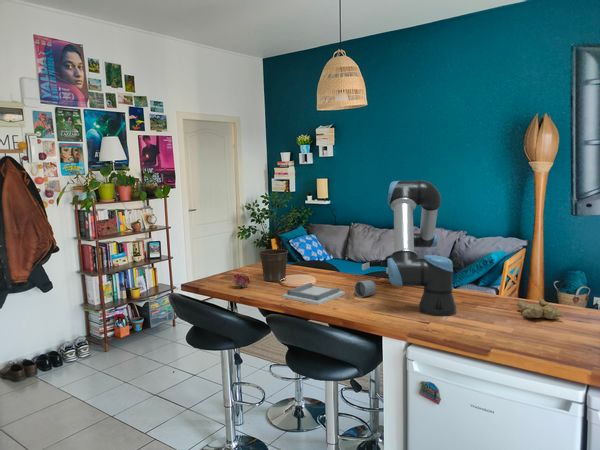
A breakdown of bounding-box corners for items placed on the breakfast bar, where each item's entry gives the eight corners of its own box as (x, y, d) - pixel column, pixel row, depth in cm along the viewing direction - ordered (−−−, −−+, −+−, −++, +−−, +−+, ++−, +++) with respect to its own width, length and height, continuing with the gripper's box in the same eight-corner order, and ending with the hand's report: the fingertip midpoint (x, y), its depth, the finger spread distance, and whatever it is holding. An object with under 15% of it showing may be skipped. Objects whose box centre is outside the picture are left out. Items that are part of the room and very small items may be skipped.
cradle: (345, 294, 219) (345, 287, 219) (318, 305, 202) (318, 298, 202) (309, 287, 233) (309, 281, 233) (281, 297, 216) (281, 290, 215)
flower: (245, 287, 228) (250, 273, 232) (228, 284, 229) (233, 269, 233) (248, 294, 237) (252, 280, 240) (231, 290, 238) (236, 276, 241)
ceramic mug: (377, 295, 215) (377, 280, 214) (365, 298, 210) (365, 282, 210) (361, 291, 224) (361, 276, 223) (349, 294, 219) (349, 279, 218)
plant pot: (254, 279, 252) (253, 251, 250) (276, 275, 263) (275, 247, 261) (272, 284, 240) (271, 255, 238) (294, 279, 251) (294, 251, 249)
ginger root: (565, 323, 169) (560, 302, 169) (519, 327, 176) (514, 307, 176) (562, 312, 183) (558, 293, 183) (520, 317, 190) (515, 298, 190)
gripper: (416, 271, 232) (397, 280, 216) (373, 265, 247) (353, 273, 231) (416, 256, 231) (397, 264, 215) (373, 251, 246) (352, 258, 230)
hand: (374, 269), depth 223 cm, fingers open, 13 cm apart
